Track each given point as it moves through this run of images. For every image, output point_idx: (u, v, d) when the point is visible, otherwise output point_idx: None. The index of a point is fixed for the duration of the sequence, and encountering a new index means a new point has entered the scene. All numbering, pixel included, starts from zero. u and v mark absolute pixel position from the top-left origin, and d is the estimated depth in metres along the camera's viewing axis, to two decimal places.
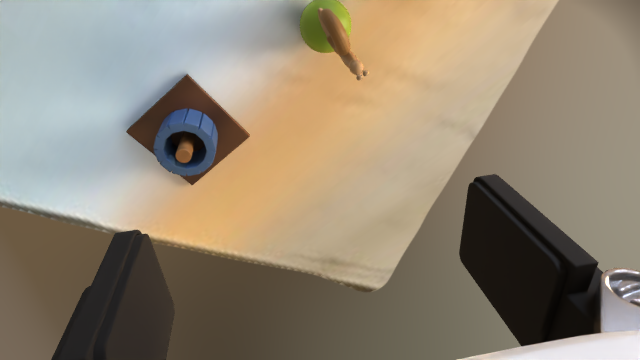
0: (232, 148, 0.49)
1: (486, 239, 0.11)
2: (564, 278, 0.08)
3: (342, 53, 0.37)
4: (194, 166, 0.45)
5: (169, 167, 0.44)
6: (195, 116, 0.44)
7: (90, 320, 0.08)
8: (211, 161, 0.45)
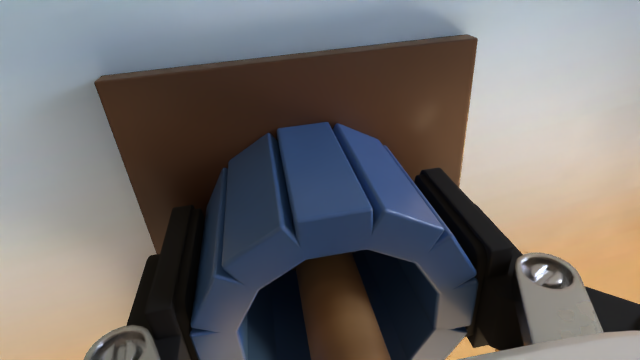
0: None
1: None
2: (484, 262, 0.09)
3: None
4: None
5: None
6: None
7: (167, 278, 0.08)
8: None
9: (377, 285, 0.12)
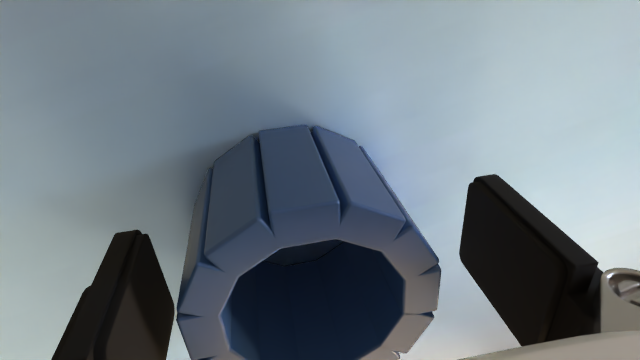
0: None
1: (486, 239, 0.11)
2: (564, 278, 0.08)
3: None
4: None
5: (204, 346, 0.09)
6: None
7: (90, 320, 0.08)
8: None
9: (355, 277, 0.13)
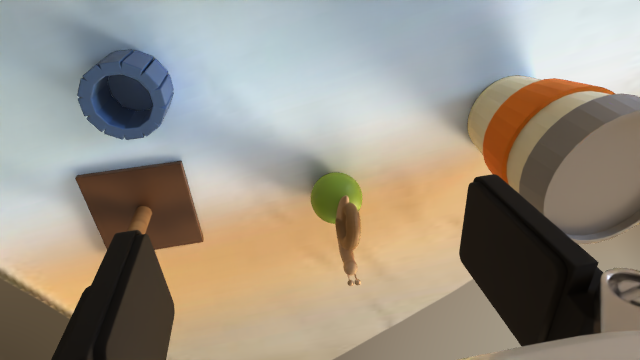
0: (178, 244, 0.44)
1: (486, 239, 0.11)
2: (564, 278, 0.08)
3: (345, 249, 0.37)
4: (121, 127, 0.33)
5: (87, 110, 0.32)
6: (159, 72, 0.33)
7: (90, 320, 0.08)
8: (146, 133, 0.33)
9: None
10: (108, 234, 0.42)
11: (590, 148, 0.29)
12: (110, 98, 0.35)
